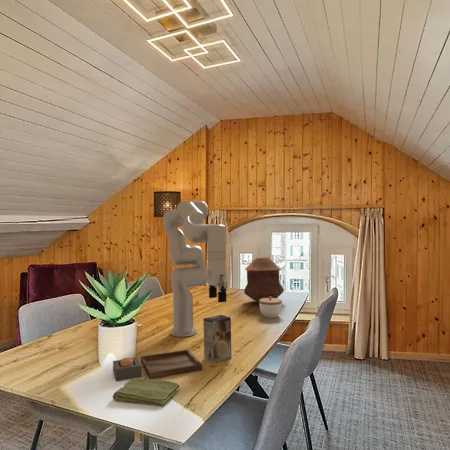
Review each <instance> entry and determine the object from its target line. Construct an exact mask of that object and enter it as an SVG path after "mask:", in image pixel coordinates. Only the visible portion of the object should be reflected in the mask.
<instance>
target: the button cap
mask: <svg viewBox="0 0 450 450" xmlns="http://www.w3.org/2000/svg"><path fill="white" fill-rule="evenodd" d="M133 358H134V357H124V358H122V359H121V358H120V360H121V361H120V364H121V367H125V366H131V365H133Z"/></svg>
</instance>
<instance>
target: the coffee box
mask: <svg viewBox="0 0 450 450" xmlns="http://www.w3.org/2000/svg"><path fill="white" fill-rule="evenodd" d="M202 322H203V355H204V357H203V358H204V360H207V361H208V362H210V363H212V364H216V363H219V362H222V361H224V360H228V359H231V358H232V357H233V356H232V324H231V323H232V319H231V316H227V315H222V314H219V315H213V316H209V317H205V318H204V317H203V321H202Z"/></svg>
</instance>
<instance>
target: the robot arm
mask: <svg viewBox="0 0 450 450" xmlns="http://www.w3.org/2000/svg"><path fill="white" fill-rule="evenodd" d="M208 215H209V206H208V205H207V203H206V202H205V201H202V200H183V201H181V202H179V203H178V205H177V207H176V209H170V210H167V211H165V212H164V213H163V215H162V216H163V217H162V223H163V228H164V231H165V235H166V236H167V238H168V243H169V252H170V258H171V262H172V264H173V265H174V266H184V267H178V268H177V267H176V268H175V269H173V270H171V274H170V280H171V281H170V282H171V288H172V309H173V313H172V316H173V317H172V319H173V321H172V322H173V326H172V327H173V329H171V330H170V335H171V336H172V337H176V338H186V337H188V338H189V337H192V336H194V335H196V334H197V329H196V328H194V297H193V294H192V292H191V290H190V289H189V288H193V287H201V286H204V285H206V284H208V297H209V299H215V298H217V302H218V303H226V302H227V288H228V286H227V285H228V280H227V279H228V278H227V276H228V275H227V264H226V261H227V232H226V231H227V229H226V226H225V225H224V224H217V223H216V224H215V223H211V224H210V223H208V224H207V223H205V219H206V218H207V217H208ZM180 227H182V230H181V229H180ZM187 240H188V241H189V242H190V243H193V244H192V245H188V242H187ZM200 243H201V244H204V243H206V256H207V257H206V260H207V264H206V262H205V256H204V251H203V249H202V248H201V247H200V246H199V245H197V244H200ZM194 244H196V245H194ZM189 265H191V266H189ZM186 266H187V267H186ZM206 266H207V267H206Z"/></svg>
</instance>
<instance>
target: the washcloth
mask: <svg viewBox="0 0 450 450" xmlns="http://www.w3.org/2000/svg"><path fill="white" fill-rule="evenodd" d="M179 388H180V384H178V383H177V382H173V381H169V380H159V379H147V378H142V377H139V378H133V379H128V381H127V382H126V383H125V384H124V385H123V387H120V388H118V390H116V391H115V392H114V393H113V395H112V399H113V400H114V401H115V402H122V403H129V404H130V403H131V404H137V405H138V404H140V405H150V406H152V405H153V406H154V405H155V406H161V407H164V406H165V404H166V403H167V402H168V400H169V399H171V398H172V397H173V395H175V393H176V391H178V389H179Z"/></svg>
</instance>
